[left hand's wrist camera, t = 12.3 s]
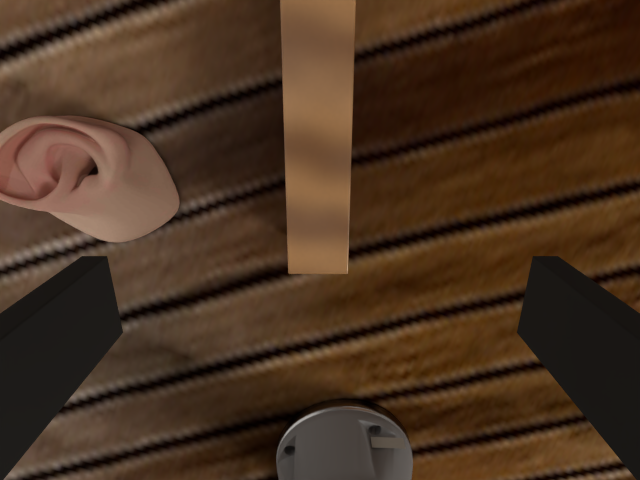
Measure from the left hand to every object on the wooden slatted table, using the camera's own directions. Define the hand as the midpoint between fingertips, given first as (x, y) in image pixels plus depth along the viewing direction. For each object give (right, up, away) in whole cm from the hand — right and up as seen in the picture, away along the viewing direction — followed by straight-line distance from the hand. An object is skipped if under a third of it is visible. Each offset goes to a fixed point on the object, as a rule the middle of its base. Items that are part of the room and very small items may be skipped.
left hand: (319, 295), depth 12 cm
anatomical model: (-19, +7, +22) cm, 30 cm away
